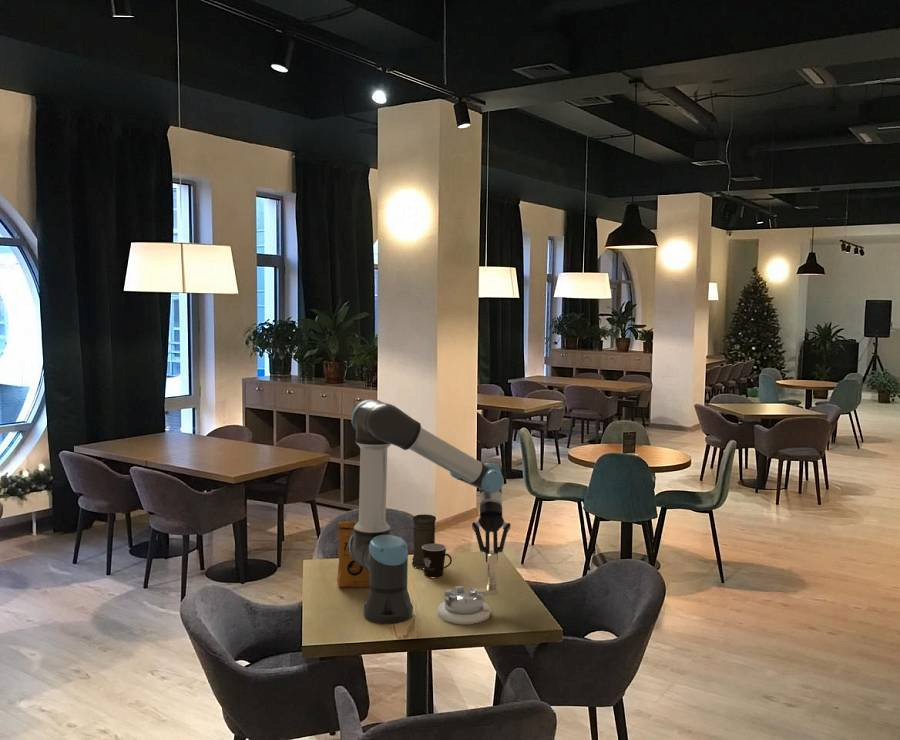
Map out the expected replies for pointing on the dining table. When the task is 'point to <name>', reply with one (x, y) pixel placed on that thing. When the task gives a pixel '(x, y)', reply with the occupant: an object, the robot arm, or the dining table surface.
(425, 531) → the container
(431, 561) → the coffee mug
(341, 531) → the coffee package
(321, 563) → the dining table surface
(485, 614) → the nut base plate
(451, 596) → the grey and clear pieces
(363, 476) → the robot arm
